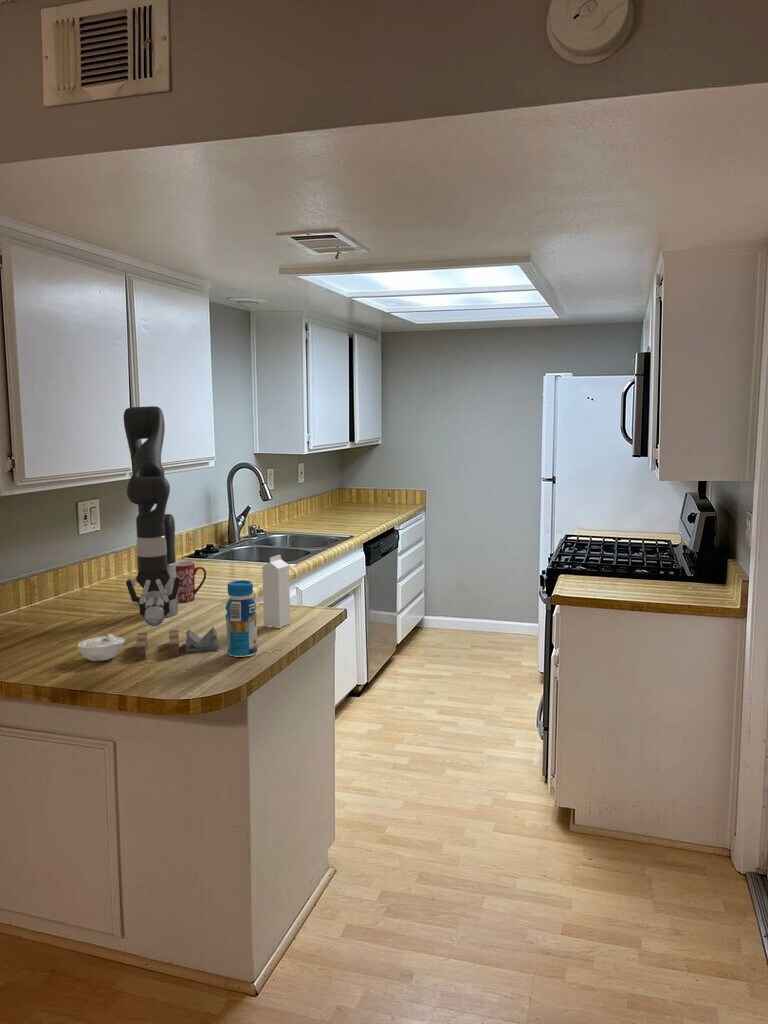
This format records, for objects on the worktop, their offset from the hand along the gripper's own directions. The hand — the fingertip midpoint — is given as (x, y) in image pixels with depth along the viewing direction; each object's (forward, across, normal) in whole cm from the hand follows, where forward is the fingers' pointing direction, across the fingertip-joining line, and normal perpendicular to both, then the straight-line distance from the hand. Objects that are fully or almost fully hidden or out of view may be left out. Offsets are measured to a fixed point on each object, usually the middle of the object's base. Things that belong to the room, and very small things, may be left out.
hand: (155, 615), depth 202 cm
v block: (+13, +12, +10) cm, 20 cm away
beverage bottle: (+13, +22, 0) cm, 26 cm away
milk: (+13, +35, +26) cm, 46 cm away
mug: (+14, +9, +67) cm, 69 cm away
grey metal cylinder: (+1, 0, 0) cm, 1 cm away
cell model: (+13, -14, +7) cm, 21 cm away
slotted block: (+13, 0, +10) cm, 16 cm away
